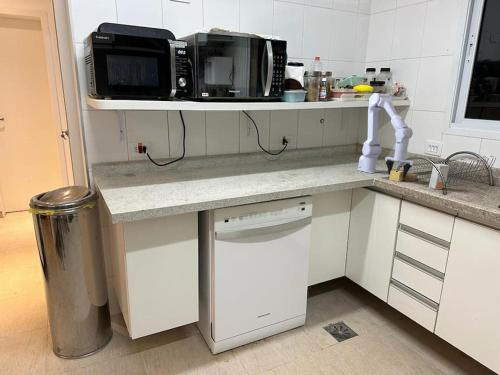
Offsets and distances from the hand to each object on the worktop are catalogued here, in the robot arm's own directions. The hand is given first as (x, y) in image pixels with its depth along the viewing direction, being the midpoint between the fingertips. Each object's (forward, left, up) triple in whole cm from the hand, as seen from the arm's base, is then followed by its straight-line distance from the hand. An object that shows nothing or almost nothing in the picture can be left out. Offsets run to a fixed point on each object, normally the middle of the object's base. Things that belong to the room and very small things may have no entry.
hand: (396, 176), depth 185 cm
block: (0, 0, -2) cm, 2 cm away
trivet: (+1, +9, -2) cm, 9 cm away
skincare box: (+20, +2, -2) cm, 20 cm away
